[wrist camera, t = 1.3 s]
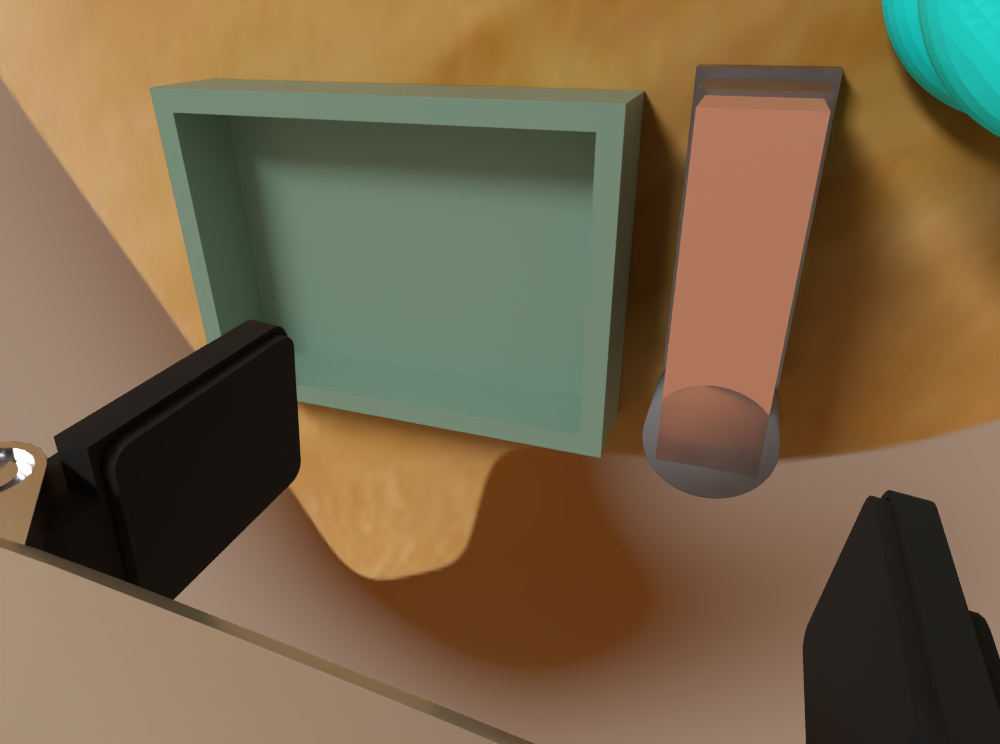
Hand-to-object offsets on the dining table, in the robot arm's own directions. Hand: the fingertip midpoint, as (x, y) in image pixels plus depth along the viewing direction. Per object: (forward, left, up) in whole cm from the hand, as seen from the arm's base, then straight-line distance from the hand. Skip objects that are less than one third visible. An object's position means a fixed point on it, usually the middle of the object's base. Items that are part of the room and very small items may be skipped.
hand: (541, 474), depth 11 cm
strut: (-2, +2, -16) cm, 16 cm away
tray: (+13, +4, -21) cm, 25 cm away
